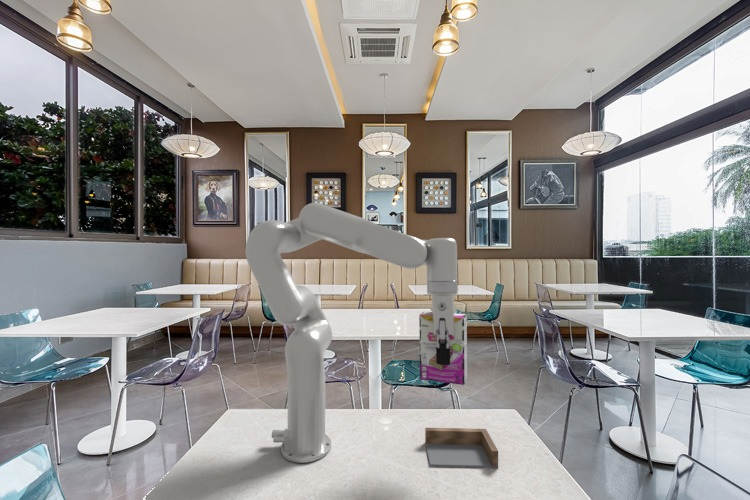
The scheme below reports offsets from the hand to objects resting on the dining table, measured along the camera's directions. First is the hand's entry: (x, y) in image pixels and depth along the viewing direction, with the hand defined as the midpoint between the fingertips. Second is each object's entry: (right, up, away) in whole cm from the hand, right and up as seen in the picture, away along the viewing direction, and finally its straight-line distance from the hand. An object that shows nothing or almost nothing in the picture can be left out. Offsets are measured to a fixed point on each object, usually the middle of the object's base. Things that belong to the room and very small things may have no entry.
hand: (443, 359), depth 85 cm
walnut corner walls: (+4, -24, +1) cm, 24 cm away
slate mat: (+4, -24, +1) cm, 24 cm away
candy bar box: (0, -5, 0) cm, 5 cm away
